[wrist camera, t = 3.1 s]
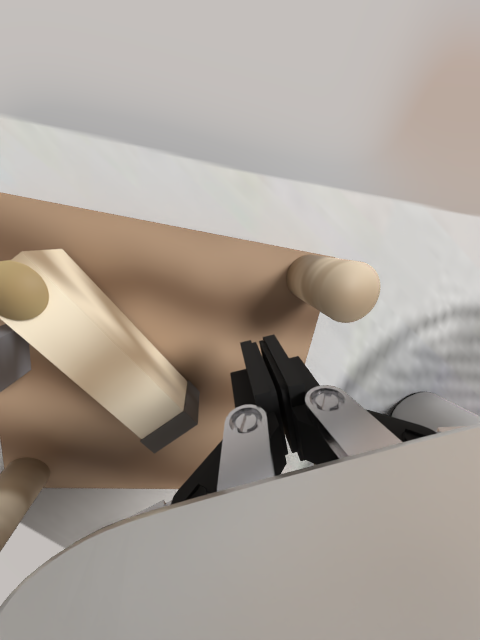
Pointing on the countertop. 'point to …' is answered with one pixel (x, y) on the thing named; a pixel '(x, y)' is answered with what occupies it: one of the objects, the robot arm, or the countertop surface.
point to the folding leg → (96, 345)
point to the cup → (433, 412)
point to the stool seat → (152, 341)
